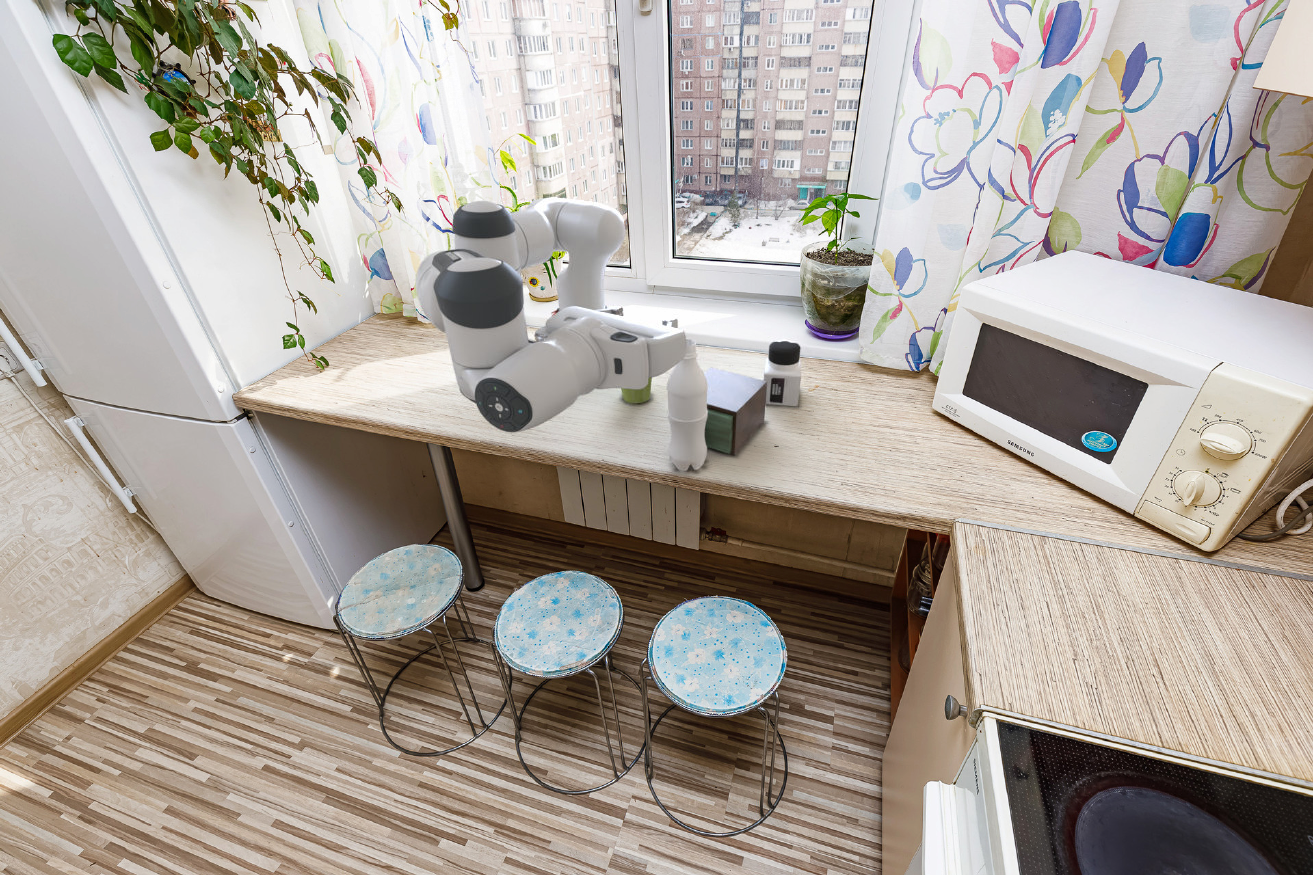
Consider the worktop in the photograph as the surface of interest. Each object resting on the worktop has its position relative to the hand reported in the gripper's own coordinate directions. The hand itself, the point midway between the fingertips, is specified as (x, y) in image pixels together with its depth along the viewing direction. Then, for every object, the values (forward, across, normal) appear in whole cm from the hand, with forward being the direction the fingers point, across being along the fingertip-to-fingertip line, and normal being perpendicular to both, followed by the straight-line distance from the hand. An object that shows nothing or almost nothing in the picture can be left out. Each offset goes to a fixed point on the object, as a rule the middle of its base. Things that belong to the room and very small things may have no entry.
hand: (645, 316), depth 87 cm
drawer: (+23, 0, -33) cm, 40 cm away
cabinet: (+26, 0, -34) cm, 42 cm away
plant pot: (+28, -23, -34) cm, 50 cm away
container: (+44, +5, -34) cm, 56 cm away
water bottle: (+12, 0, -34) cm, 36 cm away
